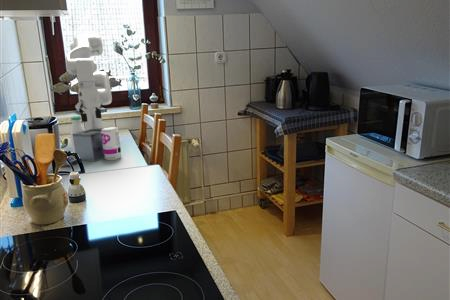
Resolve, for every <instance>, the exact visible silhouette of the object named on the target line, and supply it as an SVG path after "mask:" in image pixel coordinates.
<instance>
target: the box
mask: <svg viewBox="0 0 450 300" xmlns="http://www.w3.org/2000/svg"><path fill="white" fill-rule="evenodd" d="M103 128H104V127H103ZM103 128H93V129H89V130H86V129H85V131H82V132H78V133H74V134H73V140H74V147H75V153H77V154H78V155H79V157H80V159H81V160H80V161H88V162H96V161H99V160H101V159H105V158H104V151H103V144H102V137H101V131H102V129H103ZM90 131H99V132H96V133H88V132H90Z"/></svg>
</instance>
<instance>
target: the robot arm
mask: <svg viewBox="0 0 450 300" xmlns="http://www.w3.org/2000/svg"><path fill="white" fill-rule="evenodd" d="M69 47H70V48H69V49H70V51H69V52H68V53H67V54H66V57H65V69H66V71H67V73H68V74H69V75H70V76H71V75H73V76H75V75H76V76H77V82H78V83H77V86H78V94H77V95H78V102H77V103H76V104H75V106H74V107H75V109H76V110H77V112H78V113H79V114H80V117H81V123H82V122H83V123H84V128H85V131H86V130H89V129H93V128H104V126H103V119H102V108H103V106H107V105H110V104H112V102H113V97H112V90H111V84H110V78H109V74H108V73H107V72H106V71H104V70H99V71H96V70H97V68H98V64H97V62H96V60H95V59H94V58H91V57H92V56H93V57H94V56H95V57H97V56H101V55H102V54H103V52H104V49H103V48H104V47H103V40H102V38H101V36H100V35H99V34H97V33H89V34H87V33H84V34H77V35H76V36H75V37H74V39H73V42H72V43H70V46H69Z"/></svg>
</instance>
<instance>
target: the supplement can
mask: <svg viewBox="0 0 450 300" xmlns="http://www.w3.org/2000/svg"><path fill="white" fill-rule="evenodd" d="M119 132H120V131H119V129H118V127H116V126H110V127H107V126H106V127H103V129H102V131H101V137H102V144H103V151H104V158H103V159H105V160H106V161H113V160H114V161H115V160H119V159H120V158H121V157H122V156H123V155H122V149H121V148H122V147H121V141H120V133H119Z"/></svg>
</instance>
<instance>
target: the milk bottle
mask: <svg viewBox="0 0 450 300" xmlns="http://www.w3.org/2000/svg"><path fill="white" fill-rule="evenodd" d="M70 121H71V123H72V124H71V128H70V139H71V140H70V141H71V145H72V146H71V147H72V153H73V152H75V147H74V140H73V134H74V133H78V132H82V131H86V128H85V126H83V124H82V119H81V115H75V116H71V117H70Z"/></svg>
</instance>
